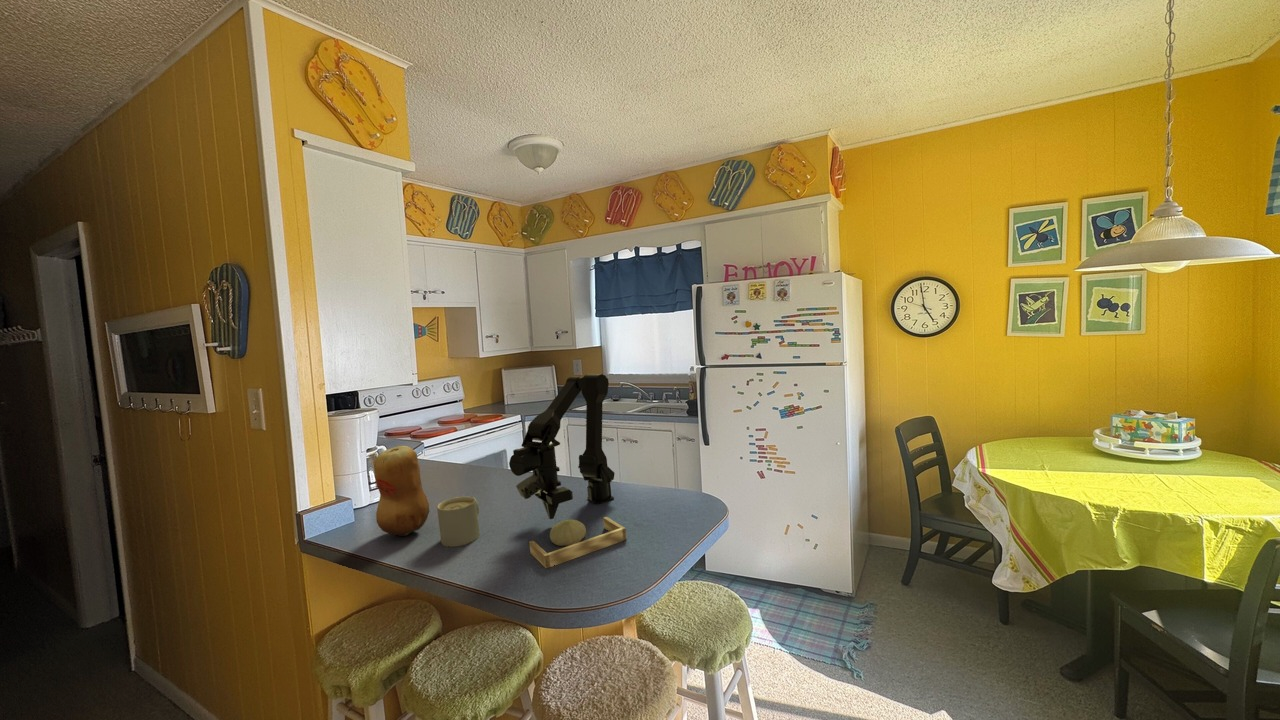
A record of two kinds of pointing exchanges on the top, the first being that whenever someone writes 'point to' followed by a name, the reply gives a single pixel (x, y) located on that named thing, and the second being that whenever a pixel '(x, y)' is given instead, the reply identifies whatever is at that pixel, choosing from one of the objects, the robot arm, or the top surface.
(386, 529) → the butternut squash
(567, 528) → the sea urchin shell
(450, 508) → the coffee mug
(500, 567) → the top surface
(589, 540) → the box
